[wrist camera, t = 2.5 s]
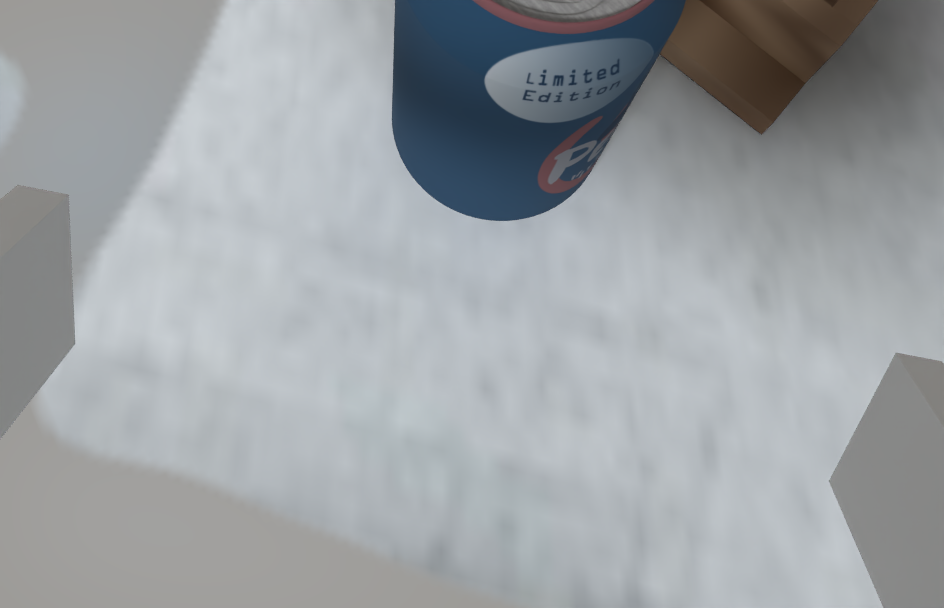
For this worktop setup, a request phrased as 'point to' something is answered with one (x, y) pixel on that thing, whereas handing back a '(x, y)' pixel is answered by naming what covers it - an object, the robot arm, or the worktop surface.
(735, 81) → the wooden tray
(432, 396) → the worktop surface
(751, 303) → the worktop surface
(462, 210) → the soda can
